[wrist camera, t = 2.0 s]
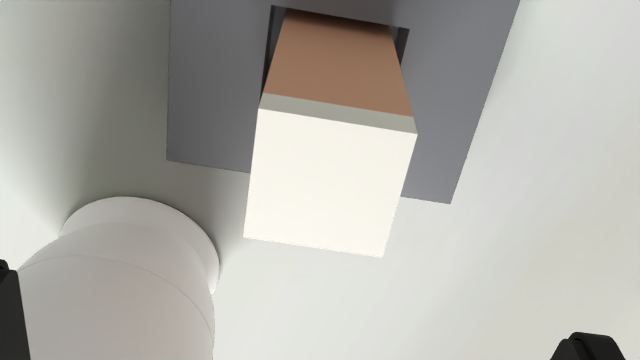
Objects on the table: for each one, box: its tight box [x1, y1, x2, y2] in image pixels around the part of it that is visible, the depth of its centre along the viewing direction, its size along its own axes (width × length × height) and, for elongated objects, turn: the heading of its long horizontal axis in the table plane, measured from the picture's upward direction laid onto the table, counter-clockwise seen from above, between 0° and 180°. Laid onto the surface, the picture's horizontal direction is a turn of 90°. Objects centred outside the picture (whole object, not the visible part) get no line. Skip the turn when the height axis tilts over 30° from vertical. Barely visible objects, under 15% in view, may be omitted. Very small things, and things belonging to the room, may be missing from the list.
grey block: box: [166, 0, 520, 204], centre depth 23 cm, size 12×9×4 cm
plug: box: [243, 8, 418, 258], centre depth 19 cm, size 4×4×10 cm
